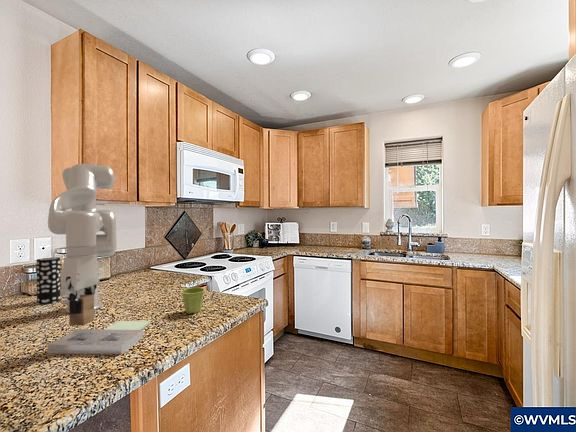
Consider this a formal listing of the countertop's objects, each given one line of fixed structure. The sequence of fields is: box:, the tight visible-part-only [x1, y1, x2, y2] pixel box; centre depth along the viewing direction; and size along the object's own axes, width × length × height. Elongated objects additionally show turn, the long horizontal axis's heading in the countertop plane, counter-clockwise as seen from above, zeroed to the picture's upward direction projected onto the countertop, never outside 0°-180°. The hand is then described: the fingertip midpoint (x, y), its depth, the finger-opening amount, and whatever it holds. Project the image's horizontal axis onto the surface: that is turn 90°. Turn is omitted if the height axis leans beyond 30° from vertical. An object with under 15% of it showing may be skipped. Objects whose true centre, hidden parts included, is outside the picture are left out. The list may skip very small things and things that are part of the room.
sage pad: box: [103, 320, 151, 330], centre depth 100 cm, size 12×9×1 cm
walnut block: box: [68, 295, 95, 326], centre depth 87 cm, size 4×4×8 cm
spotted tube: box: [36, 257, 61, 306], centre depth 131 cm, size 8×8×20 cm
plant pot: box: [180, 287, 206, 314], centre depth 117 cm, size 9×9×9 cm
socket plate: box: [47, 328, 144, 355], centre depth 87 cm, size 22×11×2 cm, turn 88°
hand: (82, 309), depth 87 cm, fingers closed on walnut block, 4 cm apart
